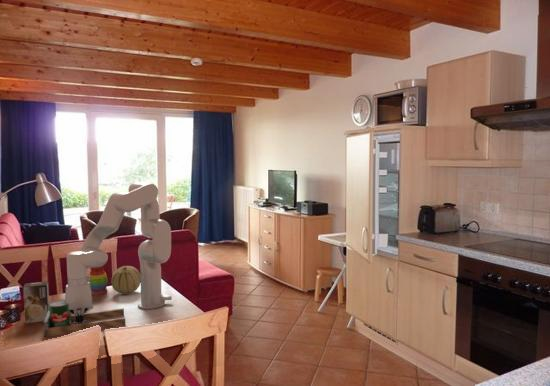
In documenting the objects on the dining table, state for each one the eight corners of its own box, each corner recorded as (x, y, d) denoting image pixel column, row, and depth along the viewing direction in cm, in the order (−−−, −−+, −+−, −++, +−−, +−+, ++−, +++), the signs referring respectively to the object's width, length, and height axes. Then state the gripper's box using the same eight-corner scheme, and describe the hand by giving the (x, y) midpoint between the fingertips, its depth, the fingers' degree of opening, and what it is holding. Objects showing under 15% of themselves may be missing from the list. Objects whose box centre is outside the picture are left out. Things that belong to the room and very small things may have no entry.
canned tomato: (55, 334, 163) (54, 307, 162) (46, 329, 168) (45, 303, 167) (75, 328, 169) (74, 302, 168) (66, 323, 174) (65, 298, 173)
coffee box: (50, 315, 183) (49, 280, 182) (48, 320, 177) (47, 284, 176) (26, 318, 179) (25, 283, 178) (24, 324, 173) (22, 287, 172)
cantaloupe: (138, 287, 225) (137, 261, 224) (144, 295, 213) (143, 266, 212) (109, 291, 218) (108, 264, 217) (114, 299, 205) (113, 270, 204)
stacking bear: (102, 289, 223) (102, 257, 221) (112, 292, 216) (111, 259, 215) (83, 293, 214) (82, 260, 213) (92, 297, 208) (91, 263, 207)
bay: (123, 314, 184) (123, 301, 184) (125, 325, 172) (125, 311, 172) (48, 324, 173) (48, 310, 172) (44, 337, 160) (44, 322, 160)
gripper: (97, 276, 176) (99, 318, 178) (58, 281, 170) (60, 323, 172) (97, 281, 169) (99, 324, 171) (56, 286, 163) (59, 330, 165)
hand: (79, 323), depth 171 cm, fingers closed
